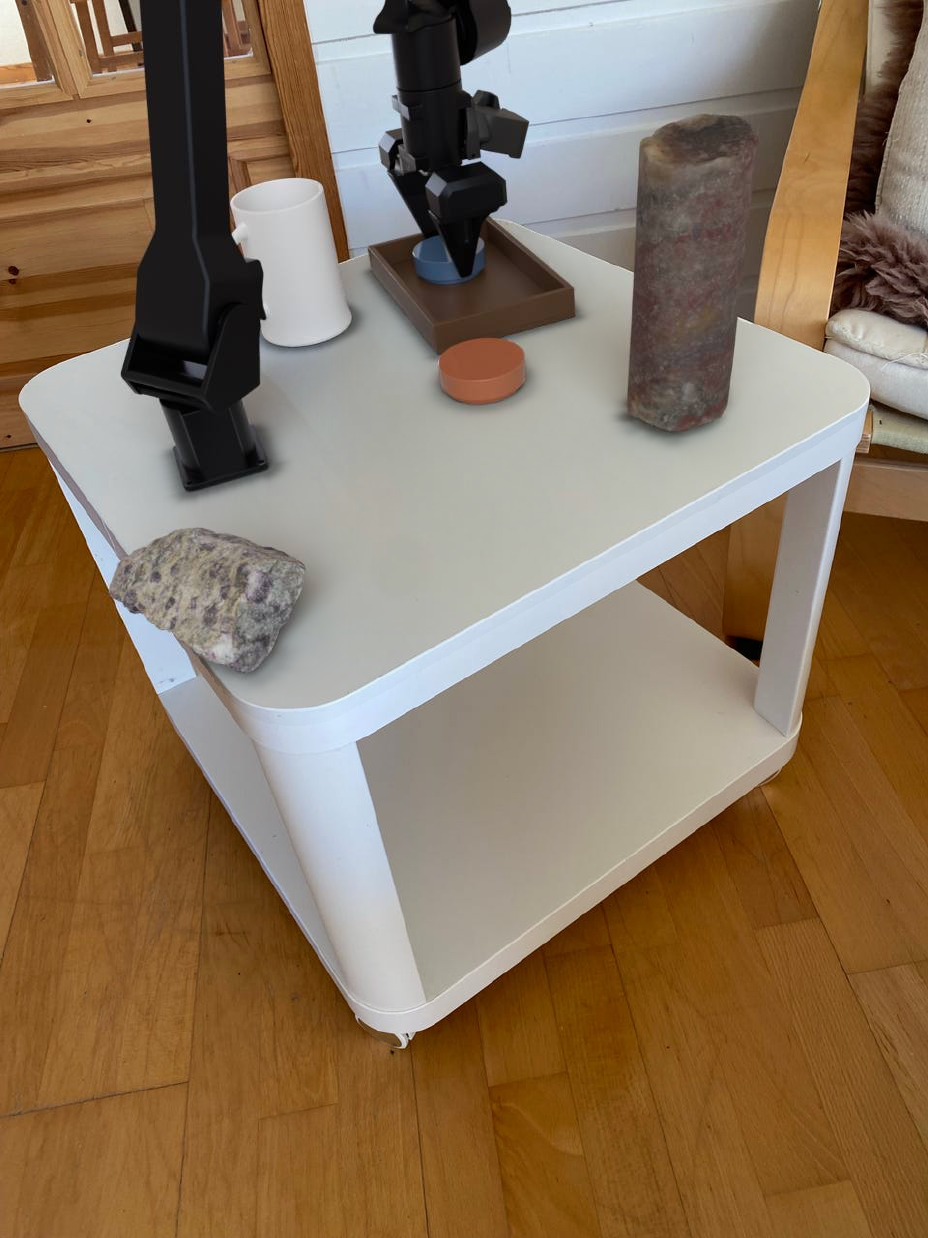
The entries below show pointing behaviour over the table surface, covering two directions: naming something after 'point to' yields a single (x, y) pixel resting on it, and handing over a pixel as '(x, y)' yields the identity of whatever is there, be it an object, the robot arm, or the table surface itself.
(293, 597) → the rock
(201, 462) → the robot arm
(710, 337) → the brown stone pillar
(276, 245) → the mug
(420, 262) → the blue puck
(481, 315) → the tray
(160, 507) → the table surface
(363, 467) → the table surface
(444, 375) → the puck terracotta
